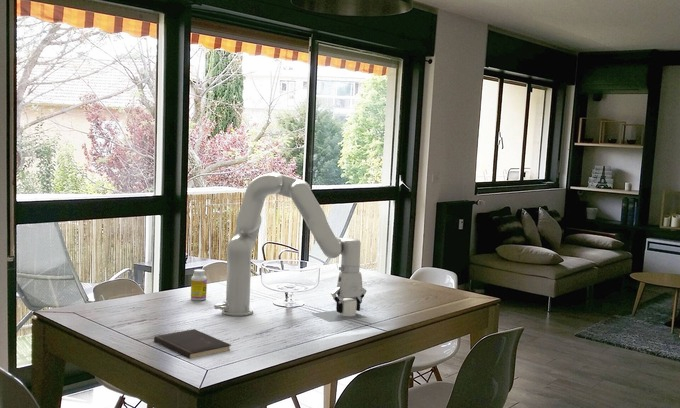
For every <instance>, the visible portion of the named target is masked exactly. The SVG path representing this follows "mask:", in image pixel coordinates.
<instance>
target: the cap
mask: <svg viewBox="0 0 680 408" xmlns="http://www.w3.org/2000/svg"><path fill="white" fill-rule="evenodd" d="M341 303H342V304H343V306H342V313H340V315H343V316H355V315H356V313H357V310H356V309H357V302H356V299H353V298H344V299H343V301H342V302H341Z"/></svg>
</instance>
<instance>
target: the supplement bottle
mask: <svg viewBox="0 0 680 408" xmlns="http://www.w3.org/2000/svg"><path fill="white" fill-rule="evenodd" d="M193 274H194V275H192V276H191V279H190V283H191V284H190V300H192V301H199V302H201V301H205V300H207V291H208V290H207V289H208V288H207V287H208V283H207V282H208V278H207V276H206V275H205V274H206V270H205V269H199V268H198V269H194V270H193Z"/></svg>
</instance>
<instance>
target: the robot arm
mask: <svg viewBox="0 0 680 408" xmlns="http://www.w3.org/2000/svg"><path fill="white" fill-rule="evenodd" d="M269 195H279V196H283V197H286V198H290V199H291V200H292V203H294V206H295V207H296V209H297V210H298V212H299V213H300V215H301V217H302V219H303V221H304V222H305V224H306V226H307V228H308V229H309V231H310V232H311V234H312V236H313V238H314V239H315V242H316V243H317V245H318V246H319V248H320V250H321V251H322V252H323V253H322V254H323V255H324V256H325V257H327V258H329V259H336V258H338V257H339V256H340V255H341V257H340V258H341V260H340V266H339V267H338V270H339V271H340V272H339V274H338V276H337V277H338V278H337V282H336V283H337V285H336V288H335V289H334V290H333V291H332V292H331V293H330V295H331V297H332V299H333V300H334V301H335V303H336V307H335V309H336V310H337V312H339V313H342V306H343V304H342V303H341V302H342V301H343V299H344V298H352V297H355V299H356V302H357V309H356V312H360V311H361V304H360V301H362V302H363V298H364V297H365V295H366V293H367V290H366V288H364V287H363V275H362V272H361V271H360V268H361V267H360V264H361V247H362V241H361V240H360V239H358V238H352V237H351V238H350V237H348V238H347V237H346V238H343V237H338V236H336V235H335V233H334V232H333V230H332V228H331V226H330V225H329V222H328V219H327V215H326V214H325V211H324V210H323V208H322V206H321V205H320V203H319V202H318V200H317V198H316V197H315V195H314V193H313V191H312V190H311V186H310V184H309V183H308V182H307V181H305V180H302V179H299V178H295V177H293V176H288V175H286V174H282V173H279V172H269V173H265V174H262V175H259V176H257V177H255V178H253V179H252V180H251V181H250V182H249V184H248V185H247V187H246V189H245V192H244V195H243V198H242V201H241V205H240V207H239V210H238V214H237V215H236V216H237V217H236V219H235V224H236V225H235V227H236V228H235V230H234V233H233V237H232V238H230V240H229V241H228V243H227V246H226V267H227V268H226V291H225V294H226V295H225V300H223V302H222V303H217V304H216V303H215V304H214V305H213V306H214V309H215V310H220V311H221V313H222V314H224V315H226V316H233V317H236V316H237V317H243V316H249V315H251V314H253V313H254V309H253V308H252V307H250V304H251V303H250V301H251V299H250V298H251V280H252V279H251V275H252V273H251V272H252V271H251V270H252V269H251V268H252V266H251V265H252V261H251V260H252V252H253V250H254V248H255V244H256V242H257V238H258V235H259V231H260V228H261V224H262V216H261V213H262V211H263V207H264V204H265V200H266V198H267V197H268V196H269ZM336 310H335V311H336Z"/></svg>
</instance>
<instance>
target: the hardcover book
mask: <svg viewBox="0 0 680 408" xmlns="http://www.w3.org/2000/svg"><path fill="white" fill-rule="evenodd" d="M153 342H155V343H157V344H159V345H161V346H163V347H165V348H166V349H169V350H171V351H173V352H175V353H177V354H179V355H180V356H181V355H182V356H184V357H186V358H188V359H194V358H198V357H203V356H207V355H212V354H217V353H221V352H225V351H230V348H231V346H232V344H231V343H228V342H226V341H223V340H220V339H218V338H216V337H214V336H211V335H209V334H208V333H205V332H202V331H200V330H197V329H196V328H193V329H188V330H182V331H177V332H176V331H175V332H171V333H170V332H169V333H166V334H160V335H155V336H154V338H153Z"/></svg>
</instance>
